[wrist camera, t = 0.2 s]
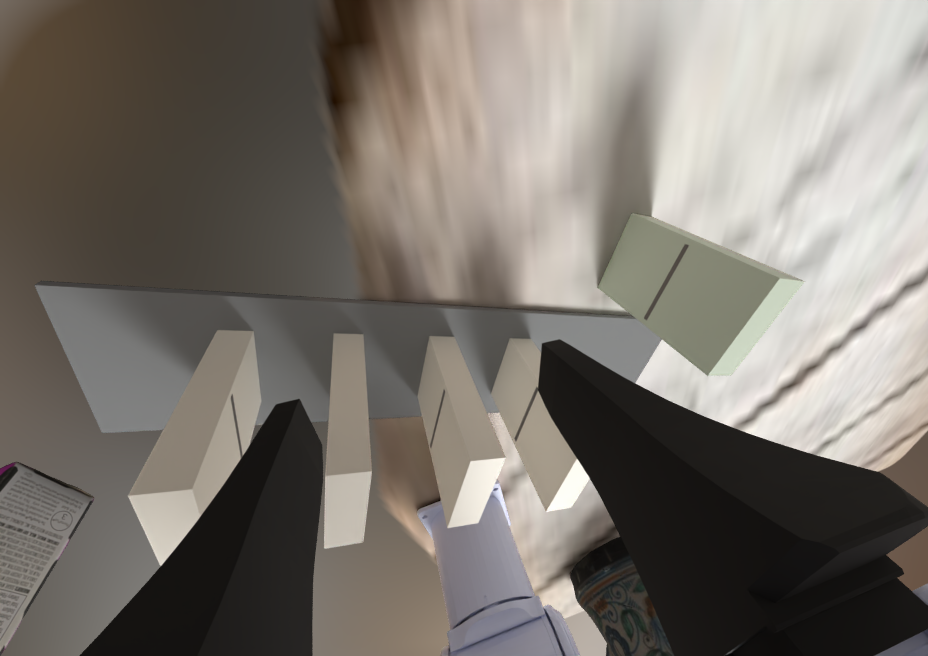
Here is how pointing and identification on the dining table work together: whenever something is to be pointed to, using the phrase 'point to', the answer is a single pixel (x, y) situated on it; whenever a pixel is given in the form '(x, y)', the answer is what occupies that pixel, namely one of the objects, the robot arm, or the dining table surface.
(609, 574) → the beer stein
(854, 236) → the dining table surface
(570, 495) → the domino
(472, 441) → the domino
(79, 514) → the candy bar box
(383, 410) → the mat
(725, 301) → the sage domino
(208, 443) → the domino
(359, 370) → the domino
